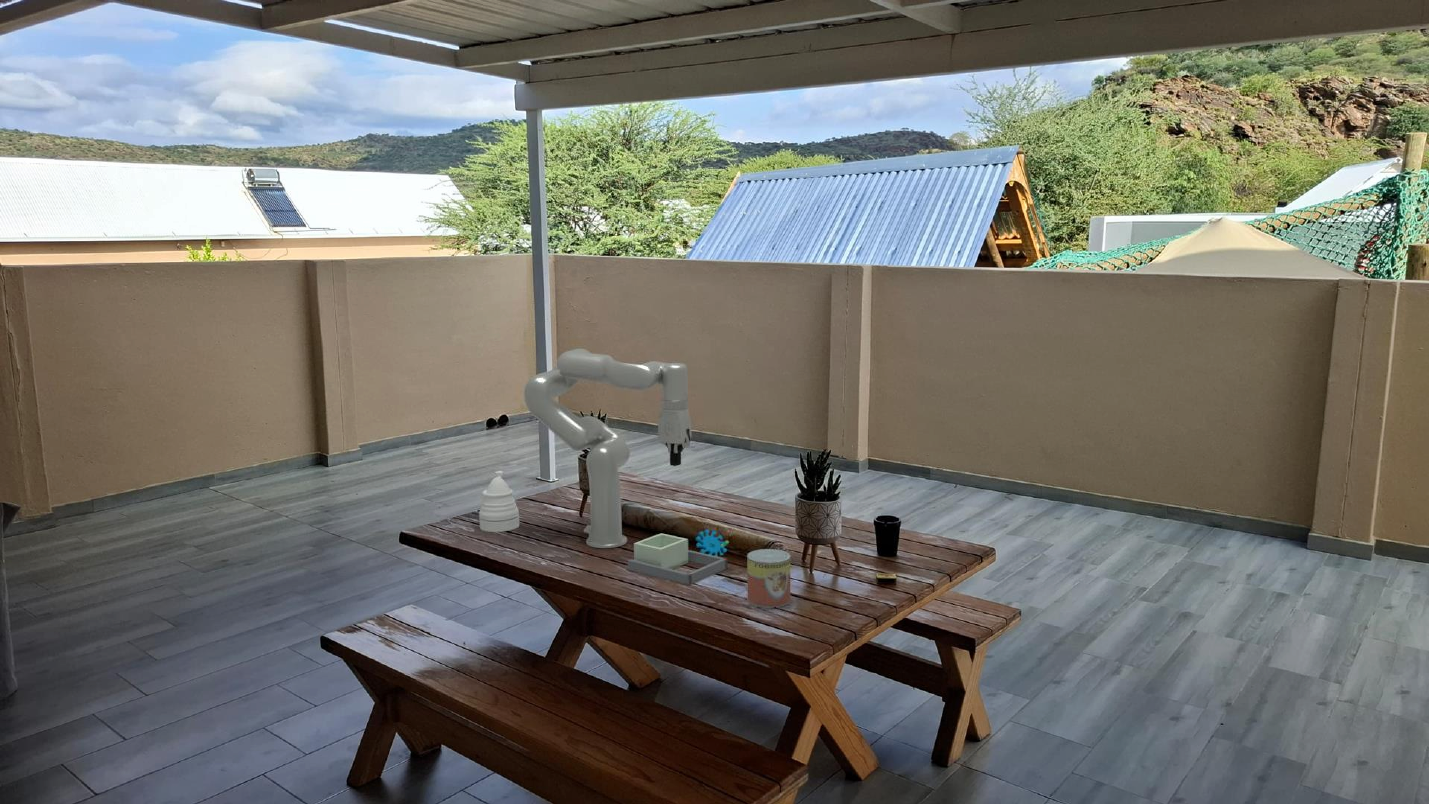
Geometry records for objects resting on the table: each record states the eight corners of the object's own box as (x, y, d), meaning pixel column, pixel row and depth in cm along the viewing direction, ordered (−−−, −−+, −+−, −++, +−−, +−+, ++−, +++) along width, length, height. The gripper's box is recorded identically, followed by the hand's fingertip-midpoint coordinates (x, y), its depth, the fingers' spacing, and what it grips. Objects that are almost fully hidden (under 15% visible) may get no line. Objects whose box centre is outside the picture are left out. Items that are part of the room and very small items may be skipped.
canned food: (759, 610, 247) (758, 564, 245) (740, 596, 257) (739, 552, 255) (798, 603, 252) (798, 558, 250) (778, 590, 262) (778, 546, 260)
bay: (628, 573, 276) (627, 560, 276) (667, 557, 290) (667, 545, 289) (689, 589, 263) (688, 575, 263) (727, 571, 277) (727, 558, 276)
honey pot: (488, 520, 332) (485, 468, 329) (524, 521, 330) (522, 469, 327) (473, 531, 319) (471, 477, 317) (511, 532, 318) (509, 478, 315)
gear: (703, 558, 284) (693, 528, 289) (694, 568, 288) (685, 539, 293) (735, 556, 290) (725, 527, 295) (726, 567, 294) (716, 538, 299)
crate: (634, 567, 278) (633, 543, 277) (661, 556, 288) (661, 533, 287) (661, 573, 272) (660, 549, 271) (688, 562, 282) (688, 539, 281)
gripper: (648, 403, 294) (649, 463, 297) (685, 409, 284) (685, 470, 287) (665, 400, 300) (666, 459, 302) (702, 405, 290) (702, 466, 293)
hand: (675, 464), depth 295 cm, fingers closed
